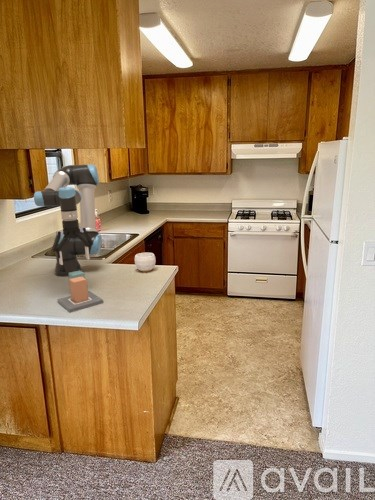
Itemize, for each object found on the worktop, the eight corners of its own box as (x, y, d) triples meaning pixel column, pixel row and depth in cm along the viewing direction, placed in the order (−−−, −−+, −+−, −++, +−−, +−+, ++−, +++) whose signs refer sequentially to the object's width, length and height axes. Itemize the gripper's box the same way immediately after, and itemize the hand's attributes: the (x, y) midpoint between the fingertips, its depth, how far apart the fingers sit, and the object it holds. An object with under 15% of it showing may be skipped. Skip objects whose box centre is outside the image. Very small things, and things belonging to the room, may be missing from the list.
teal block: (70, 291, 183) (68, 272, 180) (81, 288, 186) (79, 270, 184) (75, 294, 178) (72, 275, 176) (86, 291, 182) (84, 272, 179)
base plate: (57, 302, 169) (57, 299, 169) (89, 293, 179) (89, 290, 178) (69, 312, 157) (69, 309, 156) (103, 302, 166) (103, 299, 166)
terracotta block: (71, 299, 168) (68, 279, 165) (83, 296, 171) (81, 276, 169) (76, 303, 163) (73, 282, 161) (88, 299, 167) (86, 279, 164)
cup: (156, 267, 219) (155, 251, 216) (155, 273, 207) (154, 257, 205) (136, 267, 219) (135, 252, 216) (134, 274, 207) (133, 258, 204)
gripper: (46, 223, 163) (52, 268, 168) (97, 217, 177) (101, 258, 182) (41, 222, 168) (47, 265, 173) (91, 215, 183) (95, 255, 188)
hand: (74, 261), depth 178 cm, fingers open, 13 cm apart
